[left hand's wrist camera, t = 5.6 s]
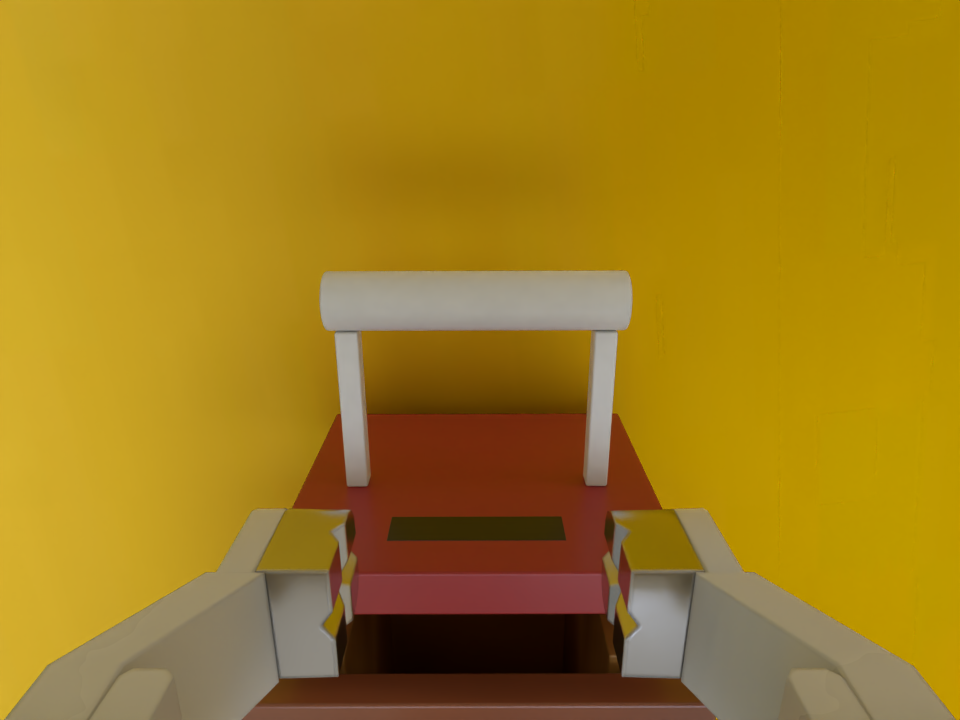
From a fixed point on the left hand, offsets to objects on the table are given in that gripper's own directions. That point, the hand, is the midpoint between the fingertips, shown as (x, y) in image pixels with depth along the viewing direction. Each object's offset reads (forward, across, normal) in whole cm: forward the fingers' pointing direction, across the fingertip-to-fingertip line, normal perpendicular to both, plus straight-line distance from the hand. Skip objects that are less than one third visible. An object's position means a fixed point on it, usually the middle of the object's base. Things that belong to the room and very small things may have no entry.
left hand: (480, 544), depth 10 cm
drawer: (+12, 0, -10) cm, 16 cm away
